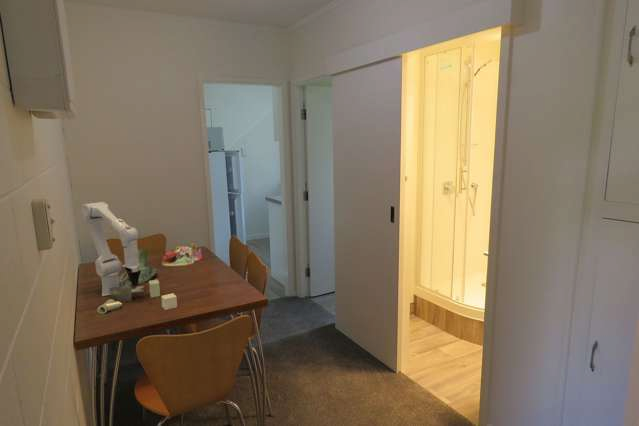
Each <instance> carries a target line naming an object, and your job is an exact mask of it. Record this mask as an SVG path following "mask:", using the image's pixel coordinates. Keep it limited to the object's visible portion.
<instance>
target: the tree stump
mask: <svg viewBox="0 0 639 426" xmlns="http://www.w3.org/2000/svg"><path fill="white" fill-rule="evenodd" d="M147 252H148V251H147V249H146V250H145V249H139V248H138V258H139V264H140V265H139V266H138V268H137V271H138V270H141V273H140V275H139V280H138V286H140V285H143V284H146V283H149V281H151V280H152V279H153V278H154V277H155V275H157V272H158V271H157V269H156V268H151V266H150V265H149V261H148V253H147ZM118 277H119V286H126V285H130V286H131V287H132V283H131V282H130V280H129V276H128V274H127V271H126V270H125V272H124V273H123V272H122V273H121V274H120V276H118Z"/></svg>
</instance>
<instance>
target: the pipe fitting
mask: <svg viewBox="0 0 639 426" xmlns="http://www.w3.org/2000/svg"><path fill="white" fill-rule="evenodd" d="M122 305H123V302H121V303H120V302H119V301H116V302H115V300H113V299H110V298H109V299H108V300H106V301H105V302H104V303H103V304H101V305H99V306H97V313H99V314H101V315H104V314H106V313H107V312H110V311H115V310H118V309H120V308H121V307H122Z"/></svg>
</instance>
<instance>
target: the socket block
mask: <svg viewBox="0 0 639 426" xmlns="http://www.w3.org/2000/svg"><path fill="white" fill-rule="evenodd" d="M160 289H161V288H160V281H159V279H153V280H152V279H150V280H149V281H148V290H149V296H150V298H156V297H157V298H158V297H160V296H161V290H160Z"/></svg>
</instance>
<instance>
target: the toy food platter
mask: <svg viewBox="0 0 639 426" xmlns="http://www.w3.org/2000/svg"><path fill="white" fill-rule="evenodd" d="M198 248H199V246H198V245H196V246H195V243H191V244H190V247H189V246H179V245H178V246H176V247H175V250H174V251H171V250H168V251H166V252H165V256H163V257H162V261H161V266H164V267H181V266H182V267H183V266H189V265H192V264H194V263H195V262H196V261H201V260H202V258H203V255H202V253H201V252H202V250H201V247H200V248H199V249H198Z"/></svg>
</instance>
